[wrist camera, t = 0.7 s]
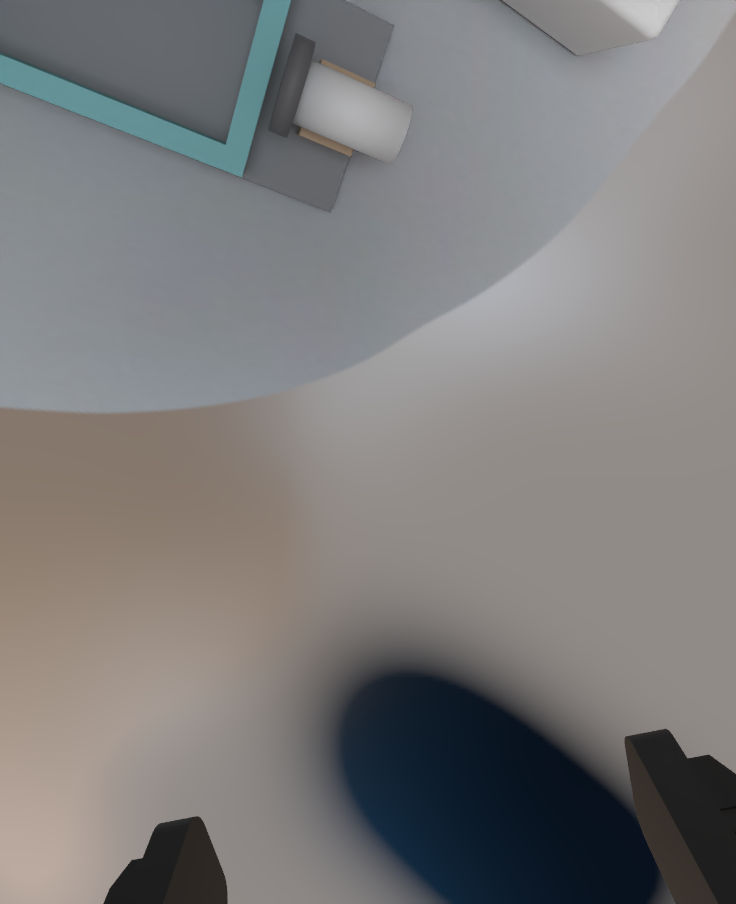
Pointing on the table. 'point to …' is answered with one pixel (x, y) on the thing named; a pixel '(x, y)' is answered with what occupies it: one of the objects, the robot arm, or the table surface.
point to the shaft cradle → (218, 81)
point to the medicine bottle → (597, 21)
